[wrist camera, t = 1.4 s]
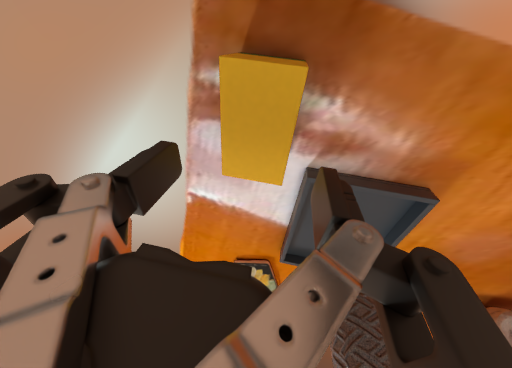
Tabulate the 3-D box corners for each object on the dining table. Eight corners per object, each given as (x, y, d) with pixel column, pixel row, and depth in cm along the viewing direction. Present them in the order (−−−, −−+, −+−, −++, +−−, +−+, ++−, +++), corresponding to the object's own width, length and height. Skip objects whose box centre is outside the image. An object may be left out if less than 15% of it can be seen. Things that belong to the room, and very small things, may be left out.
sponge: (240, 52, 16) (218, 55, 11) (305, 60, 15) (308, 66, 11) (237, 148, 21) (221, 175, 17) (285, 156, 21) (281, 186, 16)
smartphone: (252, 297, 43) (232, 262, 35) (252, 294, 44) (232, 259, 35) (282, 300, 41) (268, 263, 33) (282, 296, 42) (269, 260, 33)
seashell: (491, 340, 37) (543, 420, 29) (412, 324, 39) (441, 395, 31) (580, 311, 27) (694, 419, 19) (468, 290, 29) (531, 382, 21)
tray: (306, 167, 21) (307, 177, 19) (429, 188, 20) (440, 200, 18) (280, 251, 32) (279, 262, 30) (359, 268, 30) (362, 280, 29)
